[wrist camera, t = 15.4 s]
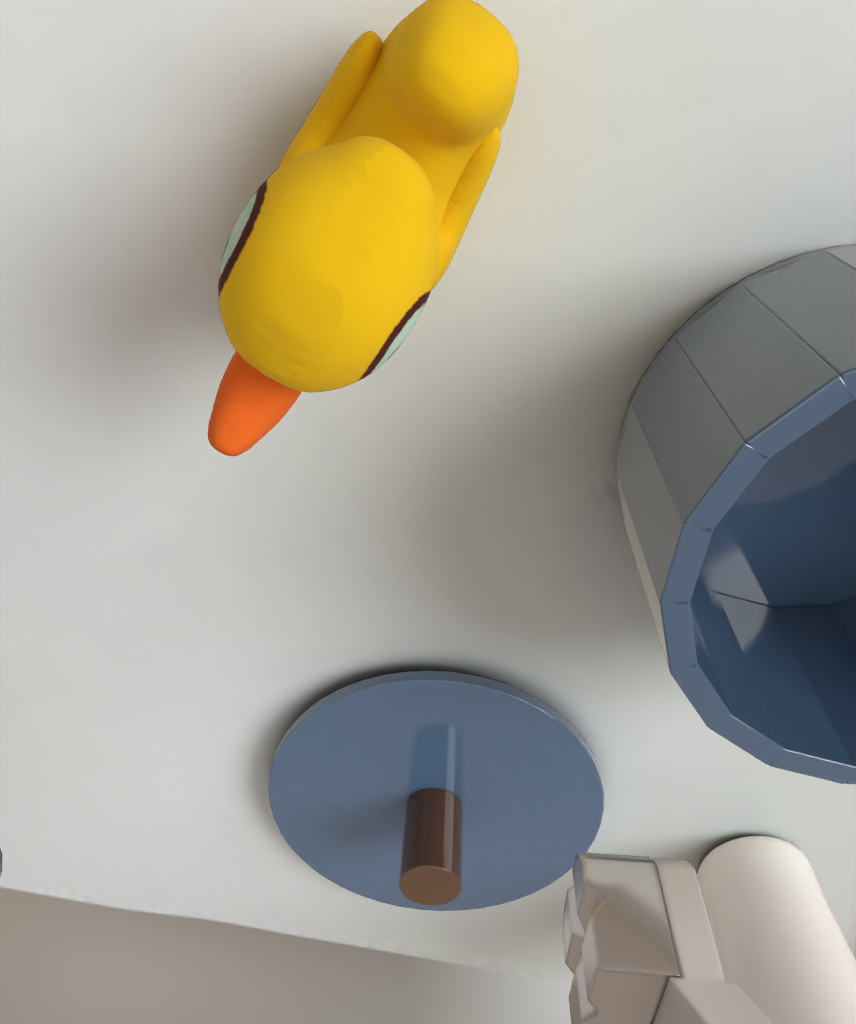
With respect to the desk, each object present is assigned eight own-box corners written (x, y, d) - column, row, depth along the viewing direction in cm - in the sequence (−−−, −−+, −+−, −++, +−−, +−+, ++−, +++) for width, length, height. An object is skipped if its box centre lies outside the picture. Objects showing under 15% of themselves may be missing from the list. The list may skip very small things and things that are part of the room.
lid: (274, 873, 42) (250, 973, 37) (272, 642, 34) (241, 734, 30) (568, 903, 42) (579, 1007, 37) (632, 680, 34) (656, 777, 30)
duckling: (356, 386, 28) (303, 539, 19) (218, 298, 27) (95, 419, 18) (564, 80, 23) (617, 101, 14) (407, -48, 22) (361, -108, 13)
